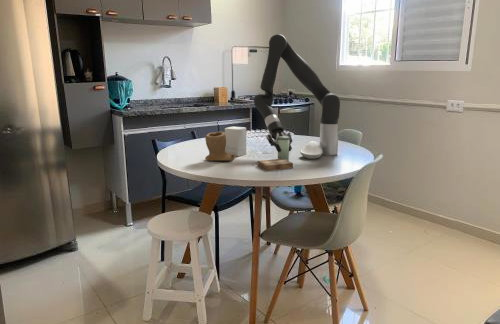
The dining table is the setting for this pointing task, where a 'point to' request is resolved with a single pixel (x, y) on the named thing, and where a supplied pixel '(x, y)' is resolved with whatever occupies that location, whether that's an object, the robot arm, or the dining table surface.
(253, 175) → the dining table surface
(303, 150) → the spoon rest
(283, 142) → the tea tin
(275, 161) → the dock
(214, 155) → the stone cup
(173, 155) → the dining table surface
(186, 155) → the dining table surface
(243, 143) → the supplement box
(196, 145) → the dining table surface
